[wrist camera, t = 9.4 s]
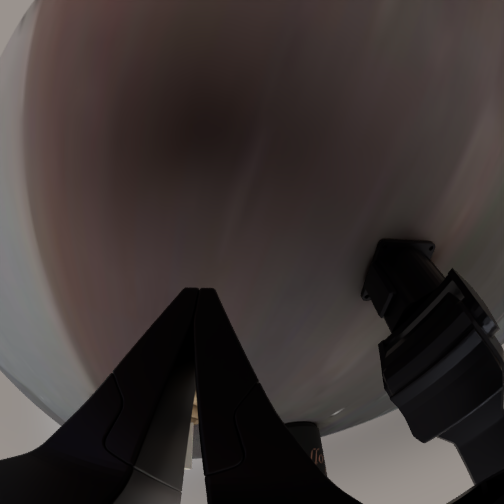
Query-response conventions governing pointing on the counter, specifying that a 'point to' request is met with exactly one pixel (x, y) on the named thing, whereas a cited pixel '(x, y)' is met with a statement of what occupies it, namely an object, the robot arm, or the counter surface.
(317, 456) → the coffee jar
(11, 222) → the counter surface
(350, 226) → the counter surface
